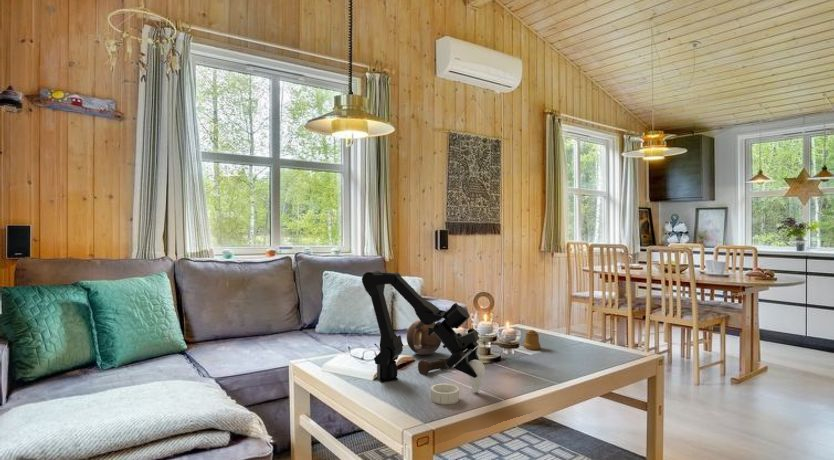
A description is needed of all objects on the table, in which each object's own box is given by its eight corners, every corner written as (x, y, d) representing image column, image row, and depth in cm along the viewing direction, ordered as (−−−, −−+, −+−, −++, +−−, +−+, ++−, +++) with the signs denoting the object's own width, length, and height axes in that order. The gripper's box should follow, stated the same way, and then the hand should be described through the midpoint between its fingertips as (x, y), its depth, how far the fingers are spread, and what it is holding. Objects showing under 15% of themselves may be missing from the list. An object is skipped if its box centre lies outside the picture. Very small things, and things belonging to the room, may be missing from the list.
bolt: (453, 372, 189) (422, 378, 180) (445, 363, 192) (415, 368, 183) (458, 361, 187) (428, 366, 177) (451, 352, 190) (421, 357, 181)
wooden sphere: (423, 347, 217) (423, 314, 217) (448, 354, 207) (449, 319, 206) (399, 354, 206) (399, 319, 206) (424, 361, 196) (425, 324, 196)
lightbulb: (464, 389, 164) (464, 357, 164) (482, 389, 165) (482, 357, 164) (468, 396, 158) (468, 363, 158) (486, 396, 158) (486, 362, 158)
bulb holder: (438, 406, 149) (438, 395, 149) (425, 396, 158) (425, 385, 157) (464, 402, 153) (464, 391, 153) (450, 392, 161) (450, 382, 161)
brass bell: (528, 345, 223) (543, 348, 218) (520, 348, 218) (535, 351, 213) (528, 327, 223) (543, 330, 218) (520, 330, 217) (535, 333, 212)
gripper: (455, 327, 154) (488, 366, 150) (473, 316, 171) (503, 351, 167) (432, 349, 157) (464, 388, 153) (452, 336, 174) (481, 371, 170)
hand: (479, 373), depth 161 cm, fingers open, 7 cm apart
